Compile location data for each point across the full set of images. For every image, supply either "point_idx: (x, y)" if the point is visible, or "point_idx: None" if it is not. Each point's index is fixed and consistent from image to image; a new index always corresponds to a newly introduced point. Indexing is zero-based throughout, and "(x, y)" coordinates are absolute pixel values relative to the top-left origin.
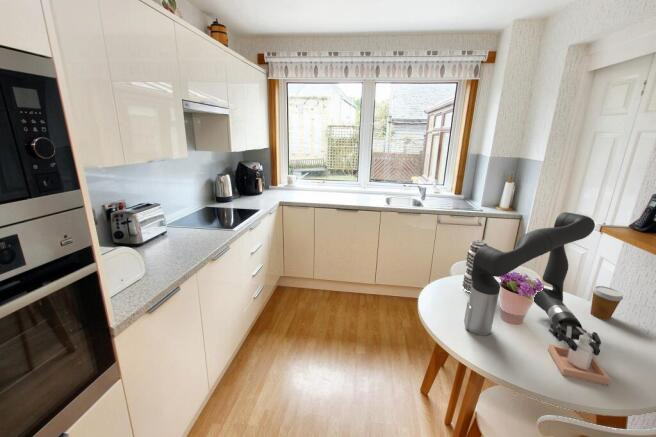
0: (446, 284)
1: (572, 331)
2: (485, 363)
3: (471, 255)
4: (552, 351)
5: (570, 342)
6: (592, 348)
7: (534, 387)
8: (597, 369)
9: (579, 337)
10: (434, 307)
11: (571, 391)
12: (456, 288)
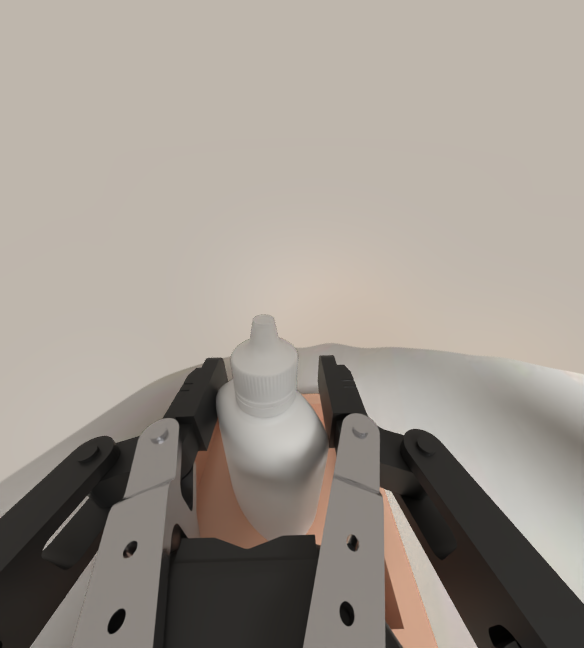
0: None
1: (281, 639)
2: (562, 383)
3: None
4: (399, 546)
5: (349, 382)
6: (224, 385)
7: (411, 351)
8: (199, 463)
9: (297, 367)
10: None
11: None
12: None
